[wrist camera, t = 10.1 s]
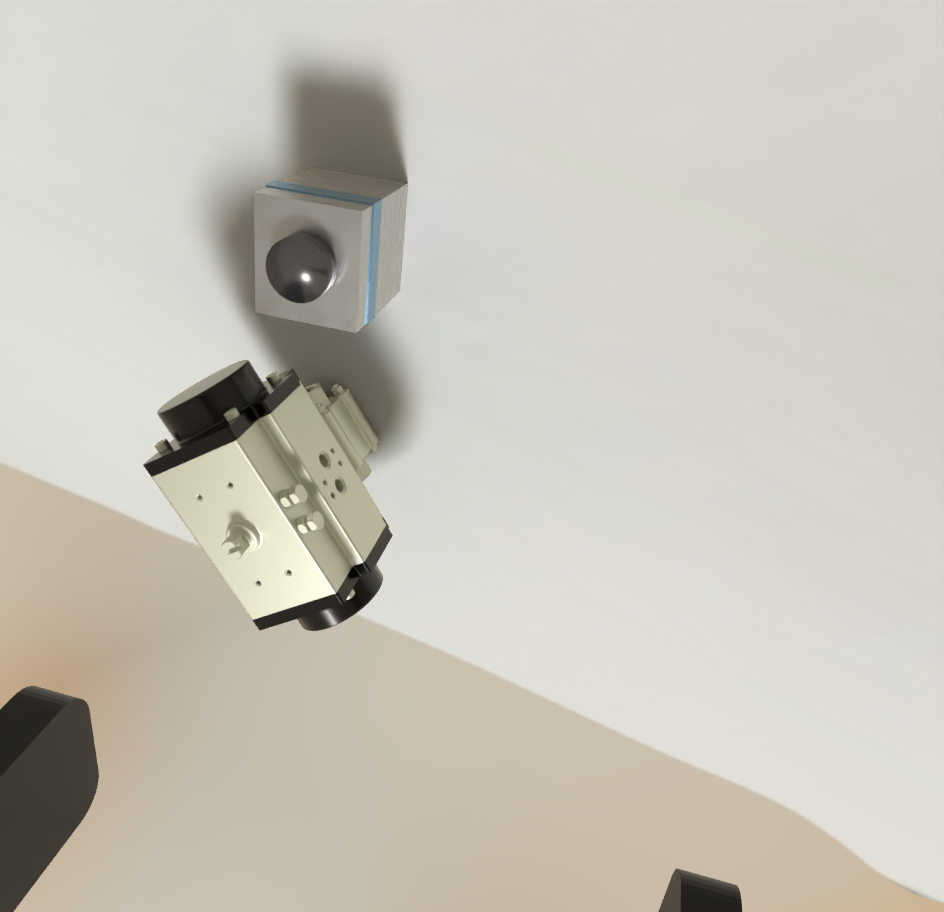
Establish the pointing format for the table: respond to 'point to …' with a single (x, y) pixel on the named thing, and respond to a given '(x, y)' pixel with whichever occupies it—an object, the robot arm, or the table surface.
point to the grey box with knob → (328, 247)
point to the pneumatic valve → (276, 493)
